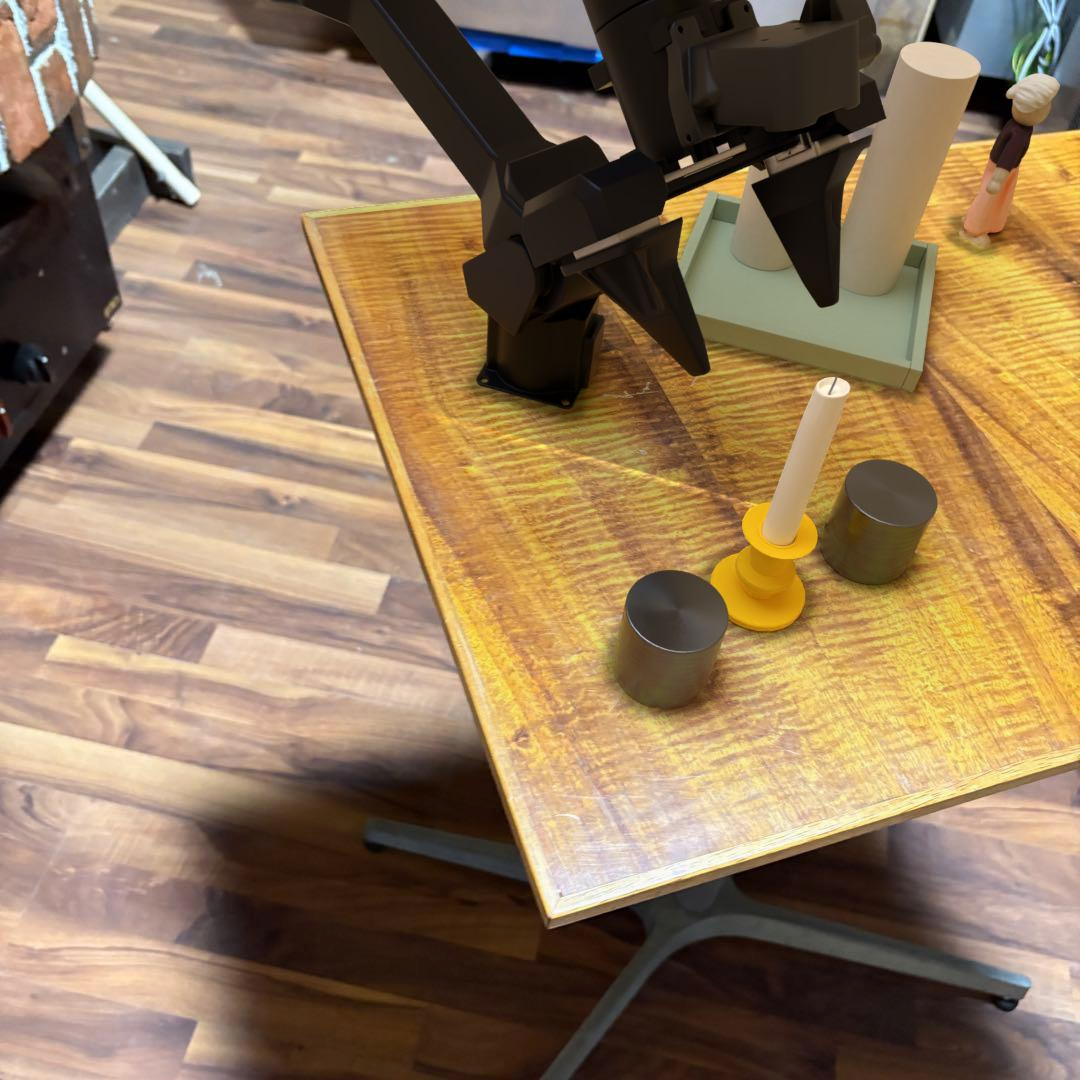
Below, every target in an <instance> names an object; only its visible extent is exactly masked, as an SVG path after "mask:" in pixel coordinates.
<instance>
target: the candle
mask: <svg viewBox="0 0 1080 1080" xmlns="http://www.w3.org/2000/svg"><path fill="white" fill-rule="evenodd" d="M850 392H851V384H850V383H849V382H848V381H847V380H845V379H844V378H840V377H839V376H838V375H836V376H829V377H825V378H822V379H821V380H819V381H818V382H817V383H816V385H815V386H814V389H813V391H812V393H811V395H810V398H809V400H808V403H807V405H806V408H805V410H804V411H803V414H802V417H801V420H800V422H799V425H798V428H797V431H796V433H795V436H794V439H793V441H792V445H791V447H790V450H789V453H788V455H787V459H786V461H785V464H784V466H783V469H782V471H781V475H780V477H779V480H778V483H777V485H776V489H775V491H774V493H773V496H772V499H771V501H765V502H760V503H758V504H756V505H753V506H751V508H749V509H748V510H747V511H746V512H745V514H744V516H743V518H742V522H741V529H742V530H741V531H742V534H743V537H744V538H745V540H746V541H747V543H748V544H749V545H747V546H745V547H743V548H742V549H741V550H740V551H739V552H737V553H733V554H731V555H728V556H726V557H724V558H723V559H721V560H720V561H719V562H718V563H717V564H716V565H715V566H714V569H713V570H712V572H711V574H710V579H709V583H710V584H711V585H712V586H714V587H715V588H716V589H717V591H718V592H719V593H720V594H721V596H722V597H723V599H724V601H725V603H726V606H727V609H728V614H729V621H730V622H732V623H733V624H735V625H737V626H739V627H742V628H744V629H746V630H751V631H755V632H773V631H778V630H783V629H785V628H786V627H788V626H790V625H792V624H793V623H794V622H795V621H797V619H798V618H799V617H800V615H801V613H802V611H803V609H804V607H805V603H806V591H805V586H804V584H803V582H802V580H801V578H800V576H799V575H798V574H797V568H796V563H795V562H794V561H795V560H799V559H802V558H804V557H807V556H808V555H810V554H811V553H812V551H814V550H815V548H816V545H817V544H818V536H819V533H818V530H817V527H816V525H815V523H814V522H813V520H812V519H811V518H810V517H809V515H807V514H806V510H807V507H808V504H809V501H810V498H811V496H812V494H813V491H814V488H815V485H816V483H817V480H818V477H819V475H820V472H821V470H822V467H823V465H824V462H825V459H826V457H827V454H828V452H829V449H830V446H831V443H832V441H833V439H834V436H835V433H836V430H837V428H838V426H839V423H840V420H841V417H842V415H843V413H844V410H845V405H846V403H847V400H848V397H849V394H850Z"/></svg>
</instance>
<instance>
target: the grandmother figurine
mask: <svg viewBox="0 0 1080 1080" xmlns="http://www.w3.org/2000/svg"><path fill="white" fill-rule="evenodd" d="M1060 87H1061V84H1060V83H1059V81H1058V80H1057V78H1055V77H1054V76H1051V75H1049V74H1046V73H1040V72H1039V73H1032V74H1029V75H1027V76H1025V77H1023V78H1021V79H1020V80H1019V81H1017V82H1016V83H1015V84H1013V85H1012V86H1011V87H1010V88H1009V89H1008V90H1007V91H1006V93H1005V97H1006V98H1007V99H1009V100H1012V107H1011V114H1012V117H1011V118H1010V119H1009V120H1008V121H1007V122H1006V123H1005V125H1004V127H1003V128H1002V130H1001V131H1000V132H999V133H998V134H997V137H995V138H996V139H995V141H994V143H993V145H992V147H991V150H990V152H989V156H988V160H987V163H986V165H985V168H984V170H983V173H982V176H981V181H980V186H979V192H978V194H977V195H976V197H975V198H974V199H973V200H972V202H971V204H970V206H969V208H968V210H967V212H966V214H965V215H964V216H962V217H961V219H960V220H961V222H962V223H964V224H963V228H964V229H961V230H959V231H958V234H959V236H960V237H961V238H963V239H965V240H966V241H969V242H971V243H972V244H974V245H977V246H980V247H987V246H989V245H991V243H992V241H991V237H990V236H989V235H988V234H989V233H998V232H1001V231H1002V230H1003V229H1004V228H1005V225H1006V222H1007V219H1008V216H1009V213H1010V210H1011V207H1012V203H1013V200H1014V195H1015V191H1016V187H1017V183H1018V177H1019V172H1020V165H1021V163H1022V160H1023V159H1024V157H1025V156H1026V154H1027V152H1028V150H1029V148H1030V145H1031V140H1032V136H1033V132H1034V126H1036V125H1038V124H1041V123H1042V122H1043V121H1045V120H1046V119H1047V117H1048V116H1049V114H1050V112H1051V109H1052V100H1053V99H1054V98H1055V97H1056V96H1057V94H1058V92H1059V90H1060Z"/></svg>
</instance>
